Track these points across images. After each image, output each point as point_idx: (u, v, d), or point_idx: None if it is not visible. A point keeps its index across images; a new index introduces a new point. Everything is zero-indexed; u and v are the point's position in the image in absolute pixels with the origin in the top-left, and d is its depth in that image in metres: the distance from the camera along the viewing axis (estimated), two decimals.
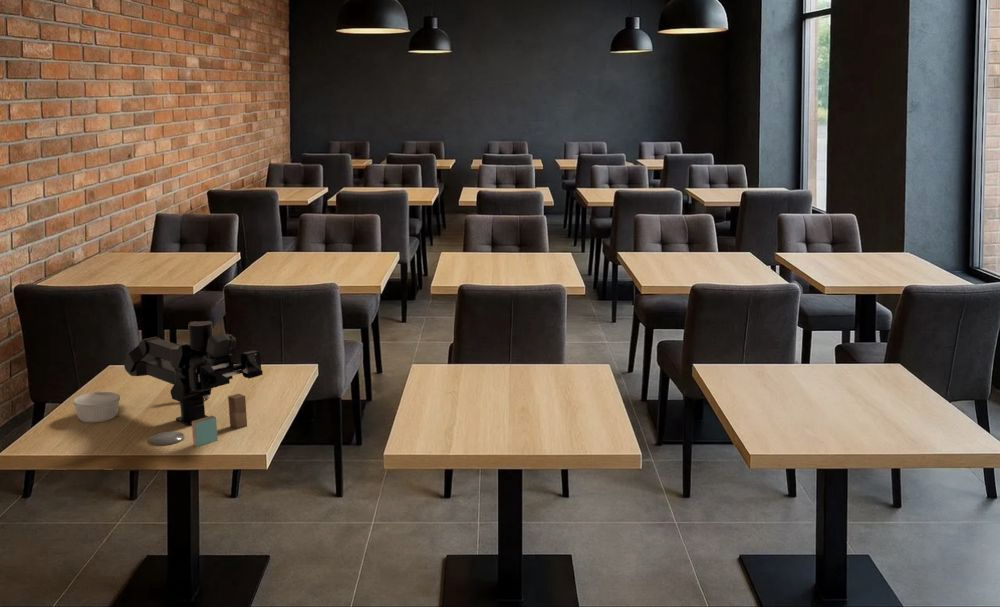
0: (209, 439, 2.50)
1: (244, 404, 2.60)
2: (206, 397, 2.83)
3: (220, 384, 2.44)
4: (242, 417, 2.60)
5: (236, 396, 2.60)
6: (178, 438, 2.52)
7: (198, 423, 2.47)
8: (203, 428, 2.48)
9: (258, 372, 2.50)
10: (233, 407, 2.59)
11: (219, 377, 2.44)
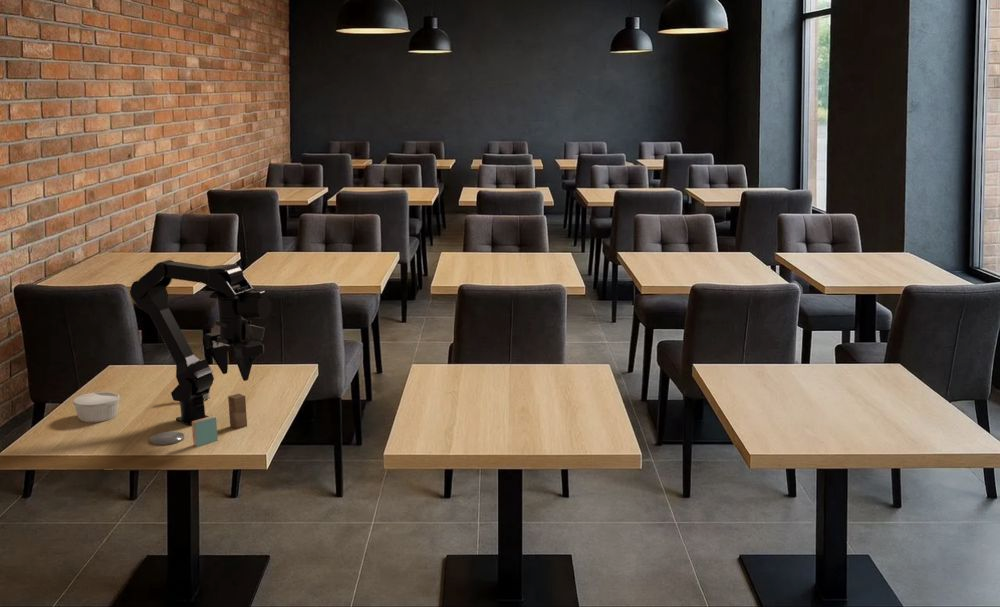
0: (209, 439, 2.50)
1: (244, 404, 2.60)
2: (206, 397, 2.83)
3: (243, 373, 2.54)
4: (242, 417, 2.60)
5: (236, 396, 2.60)
6: (178, 438, 2.52)
7: (198, 423, 2.47)
8: (203, 428, 2.48)
9: (225, 369, 2.62)
10: (233, 407, 2.59)
11: (249, 370, 2.55)
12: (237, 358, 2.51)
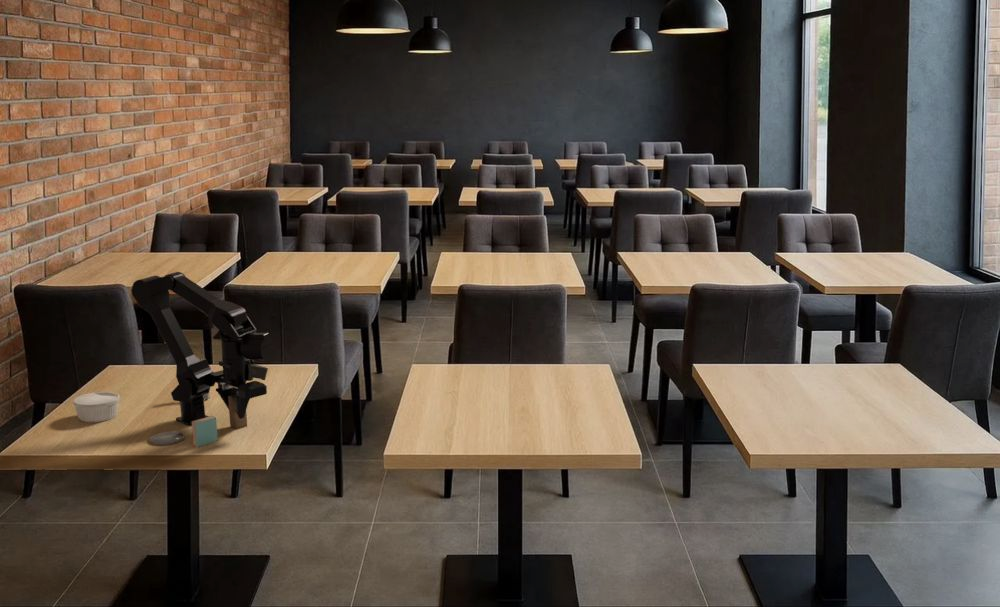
0: (209, 439, 2.50)
1: None
2: (206, 397, 2.83)
3: (239, 411, 2.58)
4: None
5: None
6: (178, 438, 2.52)
7: (198, 423, 2.47)
8: (203, 428, 2.48)
9: None
10: (233, 407, 2.59)
11: (245, 409, 2.59)
12: (233, 397, 2.55)
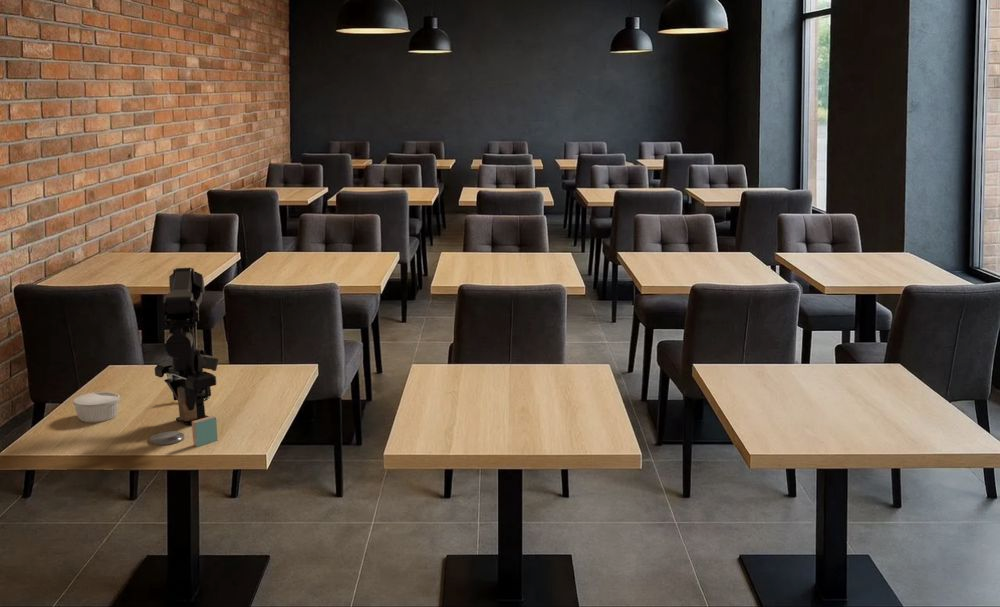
0: (209, 439, 2.50)
1: None
2: None
3: (188, 402, 2.51)
4: None
5: None
6: (178, 438, 2.52)
7: (198, 423, 2.47)
8: (203, 428, 2.48)
9: None
10: (182, 399, 2.51)
11: (195, 400, 2.52)
12: (182, 388, 2.48)
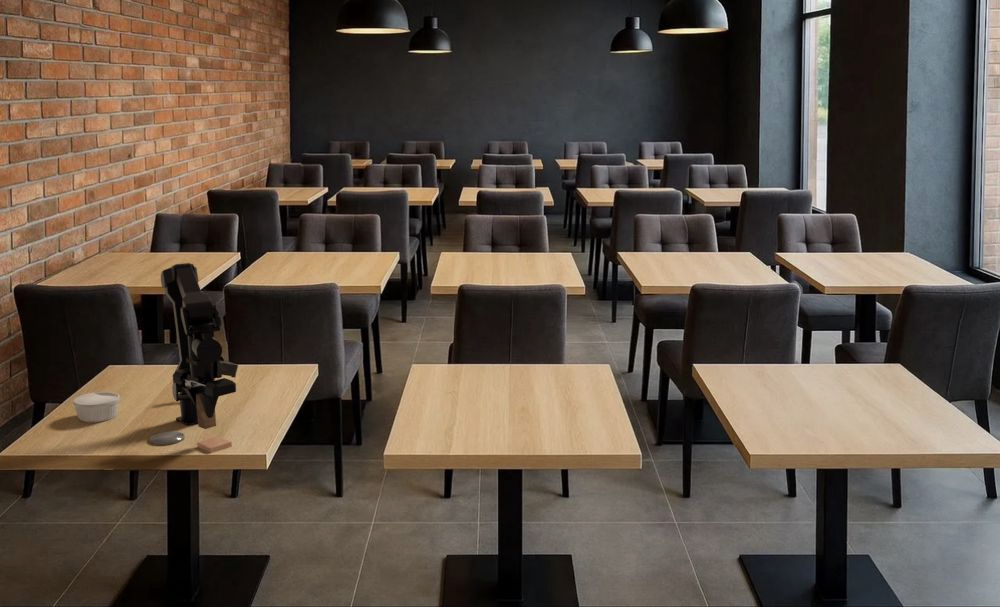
0: None
1: None
2: None
3: (207, 410, 2.45)
4: None
5: None
6: (178, 438, 2.52)
7: None
8: None
9: None
10: (201, 406, 2.46)
11: (214, 407, 2.46)
12: (201, 395, 2.42)
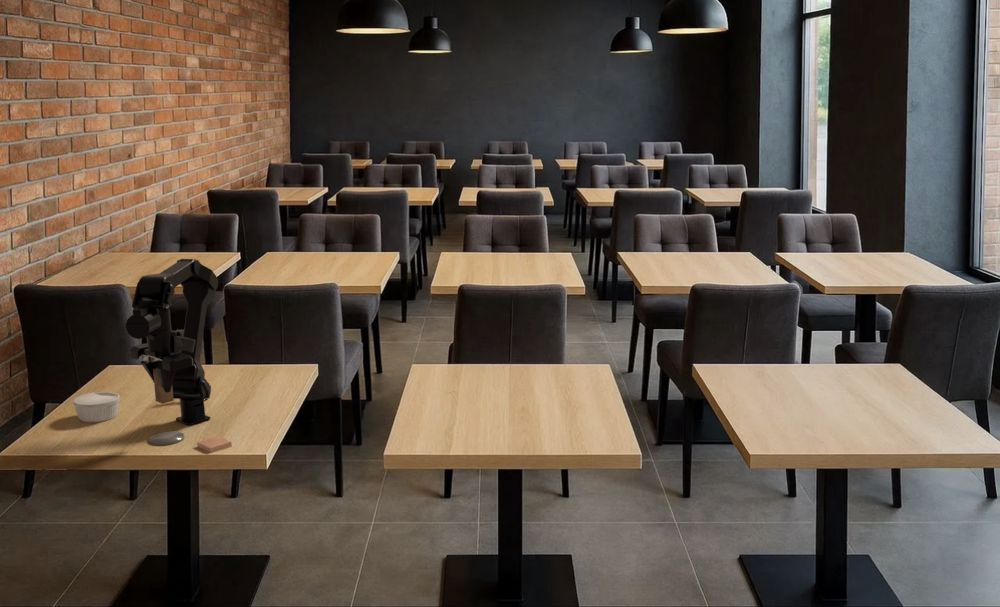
0: None
1: None
2: None
3: (165, 384, 2.47)
4: None
5: None
6: (178, 438, 2.52)
7: None
8: None
9: None
10: (158, 381, 2.48)
11: (171, 382, 2.48)
12: (158, 369, 2.44)
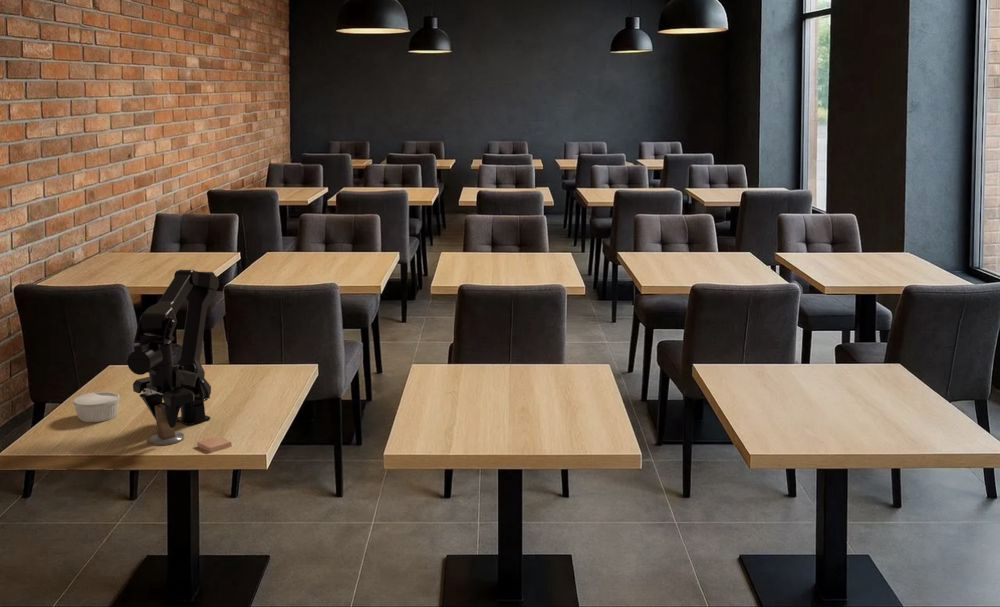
0: None
1: None
2: None
3: (169, 420, 2.48)
4: (169, 427, 2.51)
5: None
6: (178, 438, 2.52)
7: None
8: None
9: None
10: (160, 417, 2.50)
11: (176, 417, 2.49)
12: (163, 405, 2.45)
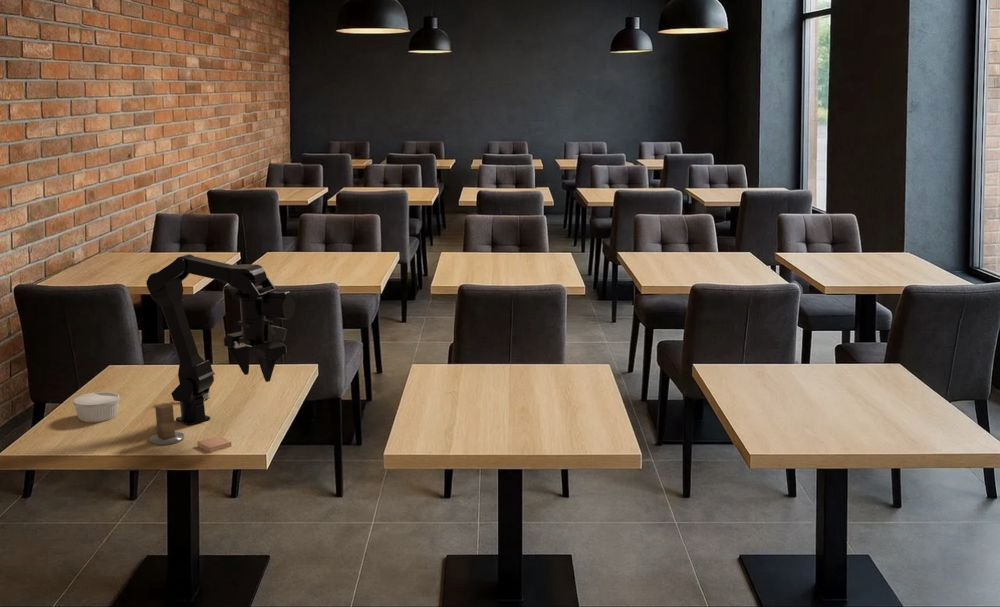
0: None
1: (172, 414, 2.51)
2: (206, 397, 2.83)
3: (265, 374, 2.53)
4: (170, 428, 2.51)
5: (163, 406, 2.51)
6: (178, 438, 2.52)
7: None
8: None
9: (246, 370, 2.60)
10: (160, 417, 2.50)
11: (271, 372, 2.54)
12: (260, 359, 2.50)
